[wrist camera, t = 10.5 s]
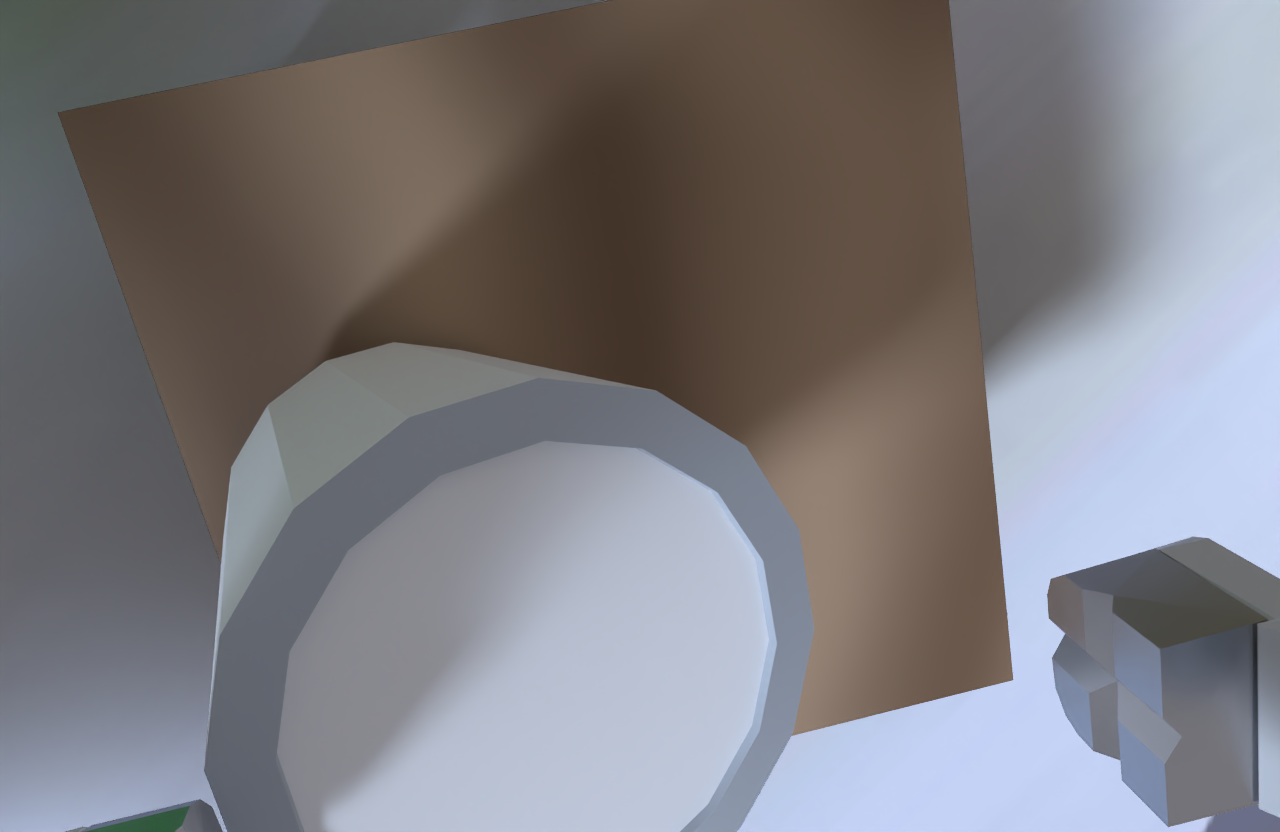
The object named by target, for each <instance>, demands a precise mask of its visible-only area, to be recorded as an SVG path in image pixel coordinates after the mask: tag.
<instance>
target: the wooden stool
mask: <svg viewBox="0 0 1280 832" xmlns="http://www.w3.org/2000/svg"><path fill="white" fill-rule="evenodd" d="M58 115H59V117H60V120H61V123H62V126H63V128H64V131H65V134H66V137H67V139H68V142H69V145H70V148H71V151H72V153H73V156H74V159H75V162H76V164H77V167H78V170H79V173H80V176H81V178H82V181H83V184H84V187H85V189H86V192H87V195H88V198H89V200H90V203H91V206H92V209H93V212H94V214H95V217H96V220H97V223H98V225H99V228H100V231H101V234H102V236H103V239H104V242H105V245H106V248H107V250H108V253H109V256H110V259H111V261H112V264H113V267H114V270H115V272H116V275H117V278H118V281H119V284H120V286H121V289H122V292H123V295H124V297H125V300H126V303H127V306H128V308H129V311H130V314H131V317H132V320H133V322H134V325H135V328H136V331H137V333H138V336H139V339H140V342H141V345H142V347H143V350H144V353H145V356H146V358H147V361H148V364H149V367H150V369H151V372H152V375H153V378H154V381H155V383H156V386H157V389H158V392H159V394H160V397H161V400H162V403H163V405H164V408H165V411H166V414H167V417H168V419H169V422H170V425H171V428H172V430H173V433H174V436H175V439H176V441H177V444H178V447H179V450H180V453H181V455H182V458H183V461H184V464H185V466H186V469H187V472H188V475H189V477H190V480H191V483H192V486H193V489H194V491H195V494H196V497H197V500H198V502H199V505H200V508H201V511H202V514H203V516H204V519H205V522H206V525H207V527H208V530H209V533H210V536H211V538H212V541H213V544H214V547H215V550H216V552H217V555H218V558H219V561H220V563H221V561H222V548H223V536H224V527H225V518H226V510H227V501H228V492H229V483H230V474H231V467H232V465H233V463H234V462H235V460H236V458H237V456H238V455H239V453H240V451H241V450H242V448H243V446H244V444H245V443H246V441H247V439H248V438H249V436H250V434H251V433H252V431H253V429H254V427H255V426H256V424H257V422H258V421H259V419H260V417H261V415H262V414H263V412H264V410H265V409H266V407H267V405H268V404H270V403H271V402H272V401H274V400H275V399H276V398H278V397H279V396H280V395H281V394H283V393H284V392H285V391H287V390H288V389H289V388H291V387H292V386H293V385H295V384H296V383H297V382H299V381H300V380H301V379H303V378H304V377H305V376H306V375H308V374H309V373H310V372H312V371H313V370H314V369H316V368H317V367H318V366H320V365H321V364H322V363H324V362H325V361H327V360H331V359H335V358H338V357H342V356H345V355H349V354H353V353H356V352H360V351H363V350H367V349H371V348H374V347H378V346H382V345H385V344H389V343H392V342H397V343H405V344H414V345H422V346H431V347H439V348H448V349H456V350H463V351H468V352H472V353H477V354H482V355H487V356H492V357H496V358H501V359H506V360H511V361H516V362H521V363H525V364H530V365H535V366H540V367H545V368H549V369H554V370H559V371H564V372H569V373H574V374H578V375H583V376H588V377H593V378H598V379H603V380H607V381H612V382H617V383H622V384H627V385H631V386H636V387H641V388H646V389H651V390H656V391H658V392H659V393H661V394H663V395H664V396H666V397H668V398H669V399H671V400H672V401H674V402H676V403H677V404H679V405H680V406H682V407H684V408H685V409H687V410H689V411H690V412H692V413H693V414H695V415H697V416H698V417H700V418H701V419H703V420H705V421H706V422H708V423H710V424H711V425H713V426H714V427H716V428H718V429H719V430H721V431H722V432H724V433H726V434H727V435H729V436H731V437H732V438H734V439H735V440H737V441H739V442H740V443H742V444H743V445H745V446H746V447H747V448H748V450H749V452H750V453H751V455H752V456H753V458H754V459H755V461H756V463H757V464H758V466H759V467H760V469H761V471H762V472H763V474H764V475H765V477H766V478H767V480H768V482H769V483H770V485H771V486H772V488H773V490H774V491H775V493H776V494H777V496H778V497H779V499H780V501H781V502H782V504H783V505H784V507H785V509H786V510H787V512H788V513H789V515H790V516H791V518H792V520H793V521H794V523H795V524H796V526H797V527H798V529H799V532H800V539H801V545H802V552H803V558H804V565H805V571H806V578H807V585H808V591H809V598H810V604H811V611H812V617H813V624H814V633H813V638H812V643H811V648H810V653H809V658H808V663H807V668H806V673H805V678H804V683H803V688H802V693H801V697H800V702H799V707H798V712H797V717H796V722H795V727H794V732H793V734H792V735H791V736H793V735H797V734H801V733H805V732H808V731H812V730H816V729H820V728H824V727H828V726H832V725H836V724H840V723H844V722H848V721H852V720H856V719H860V718H864V717H868V716H872V715H876V714H880V713H884V712H888V711H892V710H896V709H900V708H904V707H908V706H912V705H916V704H920V703H924V702H928V701H932V700H936V699H940V698H944V697H948V696H952V695H955V694H959V693H963V692H967V691H971V690H975V689H979V688H983V687H987V686H991V685H995V684H999V683H1003V682H1007V681H1011V680H1013V673H1012V662H1011V652H1010V641H1009V631H1008V620H1007V610H1006V599H1005V589H1004V578H1003V568H1002V557H1001V547H1000V536H999V526H998V515H997V505H996V494H995V484H994V473H993V463H992V452H991V442H990V431H989V420H988V410H987V399H986V389H985V378H984V368H983V357H982V347H981V336H980V326H979V315H978V305H977V294H976V284H975V273H974V263H973V252H972V242H971V231H970V221H969V210H968V200H967V189H966V179H965V168H964V158H963V147H962V137H961V126H960V116H959V105H958V95H957V84H956V74H955V63H954V53H953V42H952V32H951V21H950V11H949V0H610V1H605V2H600V3H595V4H590V5H585V6H580V7H575V8H571V9H566V10H561V11H556V12H551V13H546V14H541V15H536V16H531V17H526V18H521V19H516V20H511V21H506V22H501V23H497V24H492V25H487V26H482V27H477V28H472V29H467V30H462V31H457V32H452V33H447V34H442V35H437V36H432V37H427V38H423V39H418V40H413V41H408V42H403V43H398V44H393V45H388V46H383V47H378V48H373V49H368V50H363V51H358V52H354V53H349V54H344V55H339V56H334V57H329V58H324V59H319V60H314V61H309V62H304V63H299V64H294V65H289V66H284V67H280V68H275V69H270V70H265V71H260V72H255V73H250V74H245V75H240V76H235V77H230V78H225V79H220V80H215V81H210V82H206V83H201V84H196V85H191V86H186V87H181V88H176V89H171V90H166V91H161V92H156V93H151V94H146V95H141V96H136V97H132V98H127V99H122V100H117V101H112V102H107V103H102V104H97V105H92V106H87V107H82V108H77V109H72V110H67V111H63V112H58Z"/></svg>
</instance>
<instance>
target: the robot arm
mask: <svg viewBox="0 0 1280 832" xmlns="http://www.w3.org/2000/svg"><path fill="white" fill-rule="evenodd" d="M1047 598H1048V613H1049V619H1050V620H1051V621H1052V622H1053V623H1054V624H1055V625H1057V626H1058V627H1059V628H1060V629H1061V630H1062V631H1063V632H1064V633H1065V635H1064V637H1063V639H1062V641H1061V643H1060V644H1059V646H1058V648H1057V650H1056V652H1055V654H1054V655H1053V657H1052V661H1053V670H1054V678H1055V686H1056V690H1057V693H1058V696H1059V698H1060V701H1061V704H1062V706H1063V709H1064V712H1065V714H1066V716H1067V718H1068V720H1069V721H1070V723H1071V724H1072V726H1073V727H1074V729H1075V731H1076V732H1077V734H1078V735H1079V736H1080V737H1081V738H1082V739H1083V740H1084V741H1085V742H1086V744H1087V745H1088V746H1089V747H1090V748H1091V749H1092V750H1093V751H1095V752H1098V753H1101V754H1104V755H1107V756H1110V757H1113V758H1115V759H1118V760H1121V774H1122V781H1123V782H1124V783H1125V784H1126V785H1127V786H1128V787H1129V788H1130V789H1131V790H1132V791H1133V792H1134V793H1135V794H1136V795H1137V796H1138V797H1139V798H1140V799H1141V800H1142V801H1143V802H1144V803H1145V804H1146V805H1147V806H1148V807H1149V808H1150V809H1151V810H1152V811H1153V812H1154V813H1155V814H1156V815H1157V816H1158V817H1159V818H1160V819H1161V820H1162V821H1163V822H1164V823H1165V824H1166V825H1167V826H1168V827H1170V826H1174V825H1178V824H1182V823H1186V822H1190V821H1194V820H1197V819H1201V818H1205V817H1209V816H1213V815H1217V814H1221V813H1225V812H1229V811H1232V810H1237V809H1240V808H1244V807H1248V806H1252V805H1256V804H1259V809H1262V810H1264V811H1266V812H1268V813H1270V814H1273V815H1275V816H1277V817H1280V579H1279V578H1277V577H1275V576H1274V575H1272V574H1270V573H1268V572H1267V571H1265V570H1263V569H1261V568H1260V567H1258V566H1256V565H1254V564H1253V563H1251V562H1249V561H1247V560H1246V559H1244V558H1242V557H1240V556H1239V555H1237V554H1235V553H1233V552H1232V551H1230V550H1228V549H1226V548H1225V547H1223V546H1221V545H1219V544H1218V543H1216V542H1214V541H1212V540H1210V539H1209V538H1201V537H1190V538H1187V539H1184V540H1181V541H1177V542H1174V543H1171V544H1167V545H1164V546H1161V547H1158V548H1154V549H1151V550H1148V551H1145V552H1142V553H1138V554H1135V555H1131V556H1128V557H1125V558H1121V559H1118V560H1114V561H1111V562H1107V563H1104V564H1100V565H1097V566H1093V567H1090V568H1087V569H1083V570H1080V571H1076V572H1073V573H1069V574H1066V575H1062V576H1059V577H1056V578H1052V579H1051V581H1050V585H1049V590H1048V594H1047ZM66 832H223V831H222V829H221V827H220V824H219V822H218V820H217V818H216V815H215V813H214V811H213V808H212V807H211V806H210V805H208V804H207V803H205V802H203V801H202V800H200V799H199V800H195V801H191V802H186V803H182V804H178V805H174V806H170V807H166V808H161V809H157V810H153V811H149V812H145V813H141V814H137V815H132V816H128V817H124V818H120V819H116V820H112V821H107V822H103V823H99V824H95V825H91V826H90V827H80V828H77V829H73V830H69V831H66Z"/></svg>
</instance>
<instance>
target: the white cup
mask: <svg viewBox="0 0 1280 832" xmlns="http://www.w3.org/2000/svg"><path fill="white" fill-rule="evenodd" d="M813 633H814V624H813V617H812V611H811V604H810V598H809V591H808V585H807V578H806V571H805V565H804V558H803V552H802V545H801V539H800V532H799V529H798V527H797V526H796V524H795V523H794V521H793V520H792V518H791V516H790V515H789V513H788V512H787V510H786V509H785V507H784V505H783V504H782V502H781V501H780V499H779V497H778V496H777V494H776V493H775V491H774V490H773V488H772V486H771V485H770V483H769V482H768V480H767V478H766V477H765V475H764V474H763V472H762V471H761V469H760V467H759V466H758V464H757V463H756V461H755V459H754V458H753V456H752V455H751V453H750V452H749V450H748V448H747V447H746V446H745V445H743V444H742V443H740V442H739V441H737V440H735V439H734V438H732V437H731V436H729V435H727V434H726V433H724V432H722V431H721V430H719V429H718V428H716V427H714V426H713V425H711V424H710V423H708V422H706V421H705V420H703V419H701V418H700V417H698V416H697V415H695V414H693V413H692V412H690V411H689V410H687V409H685V408H684V407H682V406H680V405H679V404H677V403H676V402H674V401H672V400H671V399H669V398H668V397H666V396H664V395H663V394H661V393H659V392H658V391H656V390H651V389H646V388H641V387H636V386H631V385H627V384H622V383H617V382H612V381H607V380H603V379H598V378H593V377H588V376H583V375H578V374H574V373H569V372H564V371H559V370H554V369H549V368H545V367H540V366H535V365H530V364H525V363H521V362H516V361H511V360H506V359H501V358H496V357H492V356H487V355H482V354H477V353H472V352H468V351H463V350H456V349H448V348H439V347H431V346H422V345H414V344H405V343H397V342H392V343H389V344H385V345H382V346H378V347H374V348H371V349H367V350H363V351H360V352H356V353H353V354H349V355H345V356H342V357H338V358H335V359H331V360H327V361H325V362H324V363H322V364H321V365H320V366H318V367H317V368H316V369H314V370H313V371H312V372H310V373H309V374H308V375H306V376H305V377H304V378H303V379H301V380H300V381H299V382H297V383H296V384H295V385H293V386H292V387H291V388H289V389H288V390H287V391H285V392H284V393H283V394H281V395H280V396H279V397H278V398H276V399H275V400H274V401H272V402H271V403H270V404H268V405H267V407H266V409H265V410H264V412H263V414H262V415H261V417H260V419H259V421H258V422H257V424H256V426H255V427H254V429H253V431H252V433H251V434H250V436H249V438H248V439H247V441H246V443H245V444H244V446H243V448H242V450H241V451H240V453H239V455H238V456H237V458H236V460H235V462H234V463H233V465H232V467H231V474H230V483H229V492H228V501H227V510H226V518H225V527H224V536H223V548H222V561H221V573H220V585H219V597H218V609H217V622H216V634H215V646H214V658H213V670H212V683H211V695H210V707H209V719H208V731H207V744H206V756H205V768H204V771H205V774H206V776H207V779H208V782H209V784H210V787H211V789H212V792H213V795H214V797H215V800H216V802H217V805H218V808H219V810H220V813H221V816H222V818H223V821H224V823H225V826H226V829H227V831H228V832H736V831H737V830H738V829H739V828H740V827H741V825H742V824H743V822H744V820H745V818H746V816H747V815H748V813H749V811H750V809H751V807H752V806H753V804H754V802H755V800H756V798H757V797H758V795H759V793H760V791H761V789H762V788H763V786H764V784H765V782H766V780H767V779H768V777H769V775H770V773H771V771H772V770H773V768H774V766H775V764H776V762H777V761H778V759H779V757H780V755H781V753H782V752H783V750H784V748H785V746H786V744H787V743H788V741H789V739H790V737H791V735H792V734H793V732H794V727H795V722H796V717H797V712H798V707H799V702H800V697H801V693H802V688H803V683H804V678H805V673H806V668H807V663H808V658H809V653H810V648H811V643H812V638H813Z"/></svg>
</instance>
